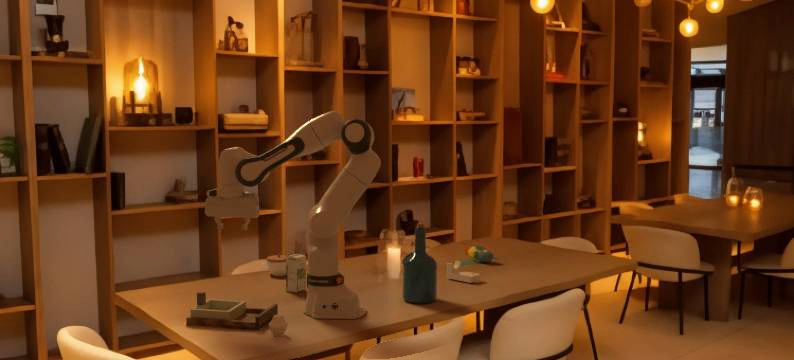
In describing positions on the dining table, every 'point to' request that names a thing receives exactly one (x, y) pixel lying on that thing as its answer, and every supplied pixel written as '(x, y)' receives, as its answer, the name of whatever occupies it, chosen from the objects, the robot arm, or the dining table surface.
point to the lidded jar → (277, 265)
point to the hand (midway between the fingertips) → (232, 229)
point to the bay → (239, 319)
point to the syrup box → (295, 273)
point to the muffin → (278, 325)
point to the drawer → (217, 308)
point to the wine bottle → (419, 272)
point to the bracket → (461, 273)
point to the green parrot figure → (478, 255)
